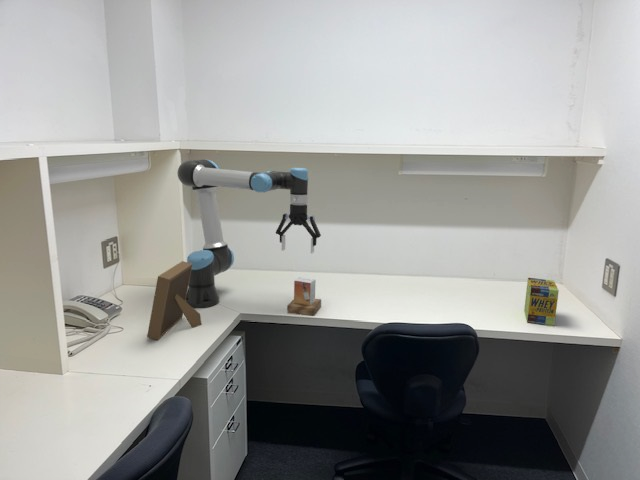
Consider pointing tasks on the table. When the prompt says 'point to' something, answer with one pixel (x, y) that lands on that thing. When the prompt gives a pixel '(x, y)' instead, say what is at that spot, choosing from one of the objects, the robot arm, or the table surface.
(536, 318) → the protein box
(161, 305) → the photo frame
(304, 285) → the small box
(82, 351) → the table surface
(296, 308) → the plinth
